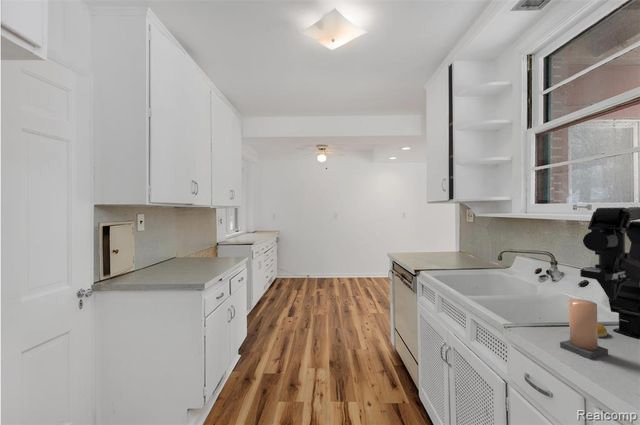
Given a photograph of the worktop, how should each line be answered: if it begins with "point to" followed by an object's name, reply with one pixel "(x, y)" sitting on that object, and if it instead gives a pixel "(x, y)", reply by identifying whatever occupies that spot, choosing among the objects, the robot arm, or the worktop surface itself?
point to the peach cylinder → (583, 324)
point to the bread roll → (601, 330)
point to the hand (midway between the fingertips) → (612, 299)
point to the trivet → (585, 353)
